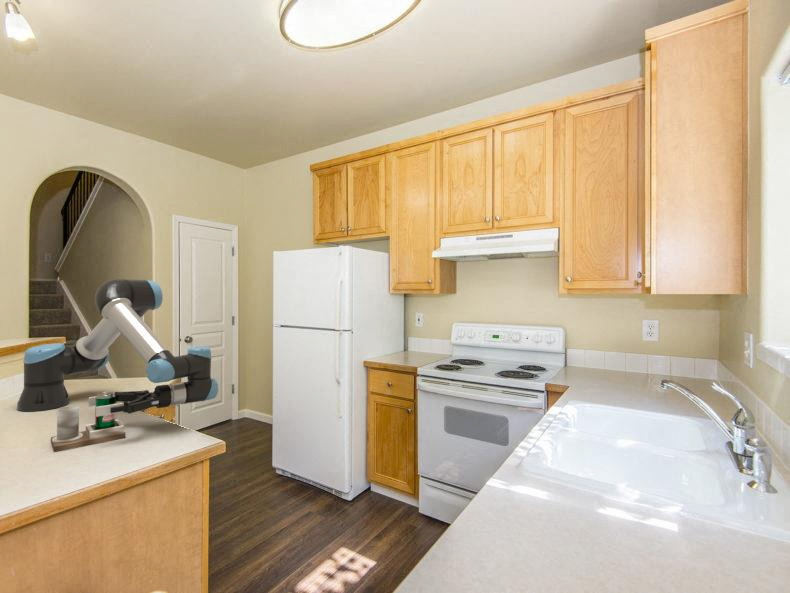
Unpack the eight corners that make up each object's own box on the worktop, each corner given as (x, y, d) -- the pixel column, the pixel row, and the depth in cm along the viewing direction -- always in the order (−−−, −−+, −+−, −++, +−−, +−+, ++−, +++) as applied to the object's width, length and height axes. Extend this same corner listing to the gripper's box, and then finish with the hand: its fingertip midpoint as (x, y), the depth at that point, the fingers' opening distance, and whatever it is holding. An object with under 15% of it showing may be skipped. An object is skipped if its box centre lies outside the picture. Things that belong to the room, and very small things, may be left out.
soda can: (104, 435, 122) (105, 396, 122) (90, 433, 124) (91, 394, 123) (118, 429, 127) (119, 392, 127) (105, 428, 128) (106, 390, 128)
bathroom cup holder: (118, 429, 132) (119, 397, 132) (125, 437, 125) (126, 404, 125) (50, 441, 120) (51, 406, 120) (53, 452, 113) (54, 414, 113)
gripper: (180, 414, 129) (99, 429, 114) (158, 398, 147) (86, 409, 132) (181, 391, 129) (99, 403, 114) (159, 378, 147) (86, 386, 132)
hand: (92, 406), depth 123 cm, fingers open, 13 cm apart
